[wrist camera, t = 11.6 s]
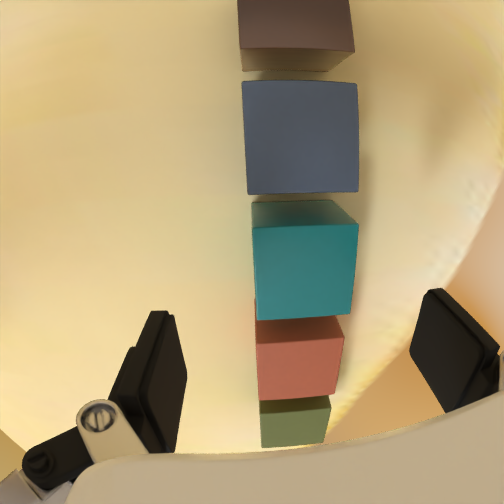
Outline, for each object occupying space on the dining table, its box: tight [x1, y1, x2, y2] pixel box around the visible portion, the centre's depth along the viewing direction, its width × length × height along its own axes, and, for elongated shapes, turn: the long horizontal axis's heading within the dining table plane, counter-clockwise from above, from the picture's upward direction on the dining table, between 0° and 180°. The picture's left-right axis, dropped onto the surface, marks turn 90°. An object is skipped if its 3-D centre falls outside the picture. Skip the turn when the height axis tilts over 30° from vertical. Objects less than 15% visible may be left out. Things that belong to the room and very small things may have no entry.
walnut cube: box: [237, 0, 355, 72], centre depth 12 cm, size 5×5×5 cm
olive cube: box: [259, 395, 331, 448], centre depth 22 cm, size 5×5×5 cm
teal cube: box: [251, 200, 359, 320], centre depth 17 cm, size 5×5×5 cm
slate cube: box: [242, 80, 359, 195], centre depth 14 cm, size 5×5×5 cm
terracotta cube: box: [255, 299, 345, 400], centre depth 19 cm, size 5×5×5 cm
